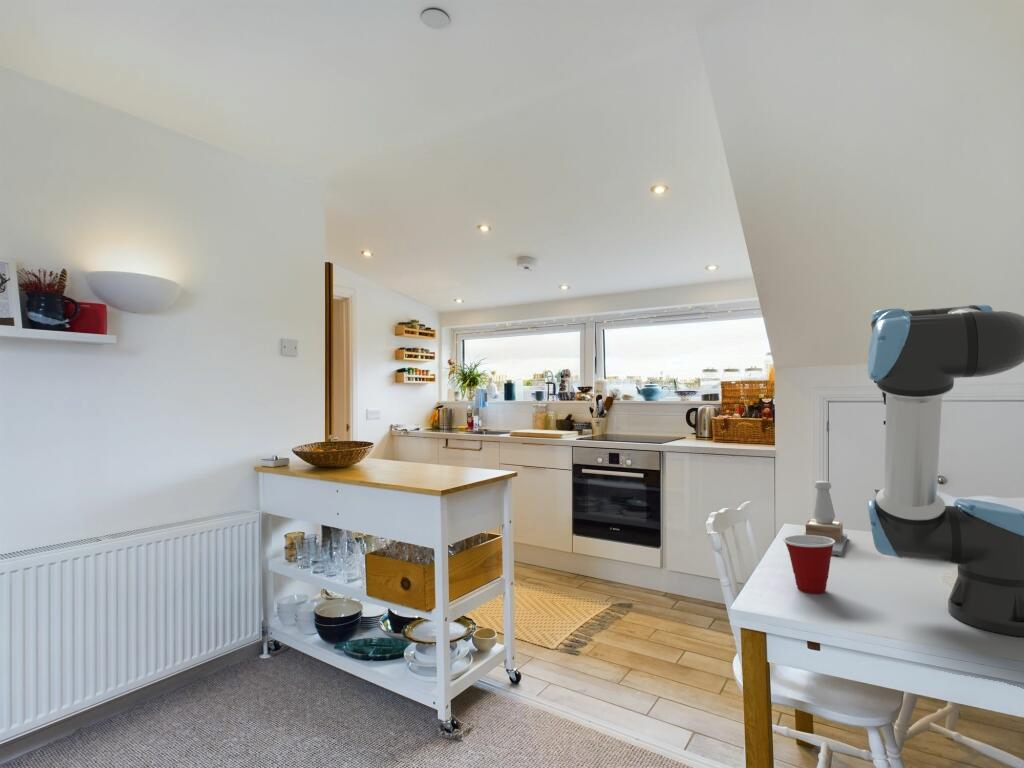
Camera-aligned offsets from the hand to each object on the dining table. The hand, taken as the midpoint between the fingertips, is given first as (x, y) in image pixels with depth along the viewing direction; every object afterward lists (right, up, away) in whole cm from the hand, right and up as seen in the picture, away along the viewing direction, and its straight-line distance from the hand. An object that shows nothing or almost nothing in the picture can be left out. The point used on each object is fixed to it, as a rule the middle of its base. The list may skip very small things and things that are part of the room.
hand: (893, 448), depth 136 cm
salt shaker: (-3, -26, +25) cm, 36 cm away
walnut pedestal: (-3, -30, +25) cm, 39 cm away
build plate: (-6, -32, +22) cm, 39 cm away
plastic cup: (-30, -32, -14) cm, 46 cm away
